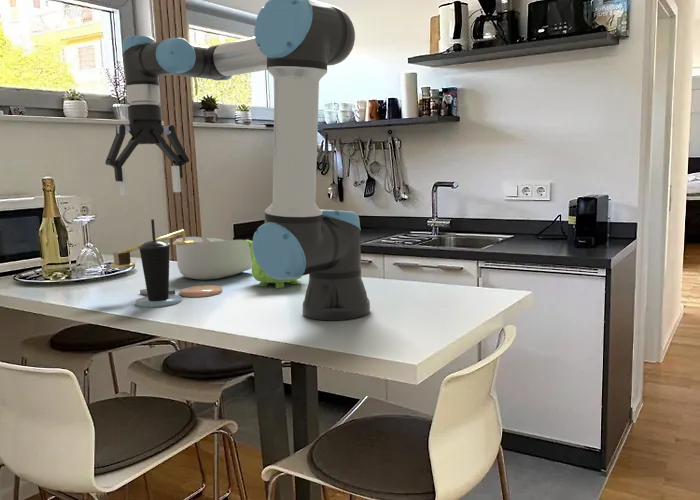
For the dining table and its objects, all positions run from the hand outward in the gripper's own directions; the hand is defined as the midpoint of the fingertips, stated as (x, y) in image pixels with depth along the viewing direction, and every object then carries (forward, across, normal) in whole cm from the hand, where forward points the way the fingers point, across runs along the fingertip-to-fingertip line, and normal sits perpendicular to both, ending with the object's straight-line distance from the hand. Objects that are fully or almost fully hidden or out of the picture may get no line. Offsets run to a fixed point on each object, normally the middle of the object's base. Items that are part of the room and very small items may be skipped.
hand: (151, 193), depth 152 cm
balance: (+27, -4, -11) cm, 29 cm away
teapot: (+27, -33, +3) cm, 43 cm away
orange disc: (+27, -13, -3) cm, 30 cm away
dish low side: (+27, 0, -1) cm, 27 cm away
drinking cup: (+26, 0, -1) cm, 26 cm away
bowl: (+27, -27, -22) cm, 44 cm away
